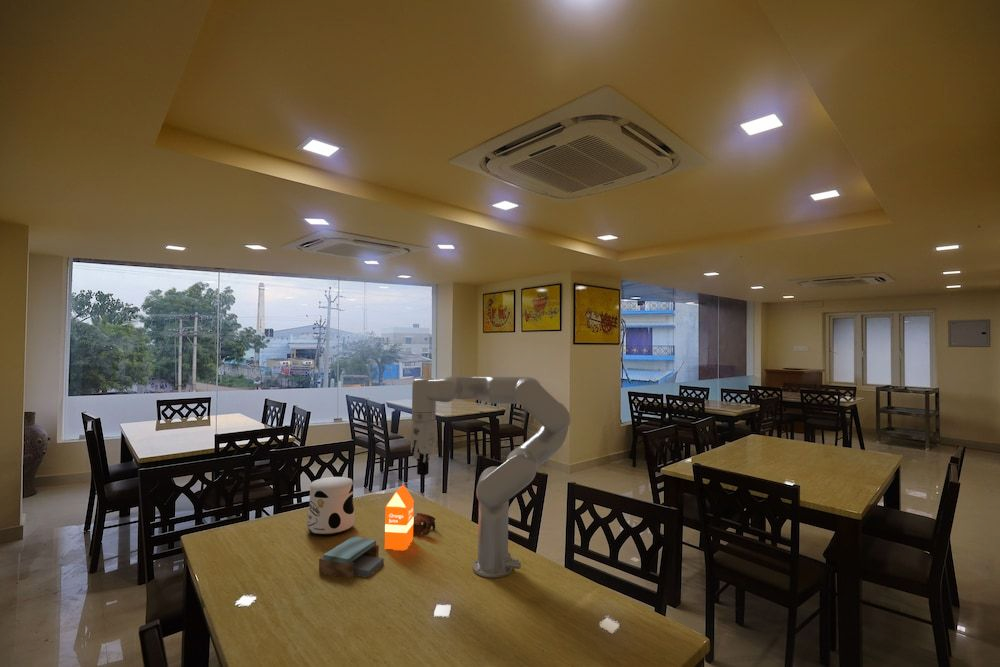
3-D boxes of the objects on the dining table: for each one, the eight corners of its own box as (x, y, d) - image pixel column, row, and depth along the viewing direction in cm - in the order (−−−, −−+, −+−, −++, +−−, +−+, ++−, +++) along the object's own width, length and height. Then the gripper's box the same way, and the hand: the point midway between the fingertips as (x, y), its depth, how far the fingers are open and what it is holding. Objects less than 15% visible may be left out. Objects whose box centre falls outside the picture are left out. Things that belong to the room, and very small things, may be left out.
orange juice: (413, 540, 171) (414, 484, 172) (406, 550, 162) (407, 491, 163) (392, 539, 172) (393, 483, 173) (384, 549, 163) (385, 490, 164)
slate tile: (383, 565, 152) (383, 558, 152) (368, 578, 143) (368, 570, 144) (345, 560, 156) (345, 552, 156) (328, 572, 147) (328, 564, 147)
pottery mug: (403, 533, 178) (410, 511, 182) (424, 540, 182) (431, 518, 186) (417, 535, 169) (424, 512, 173) (439, 543, 173) (446, 519, 177)
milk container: (295, 535, 174) (297, 486, 174) (326, 519, 191) (327, 474, 191) (336, 542, 169) (337, 491, 169) (363, 524, 185) (364, 478, 186)
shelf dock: (378, 557, 157) (378, 540, 157) (350, 578, 142) (351, 559, 142) (348, 552, 160) (349, 535, 160) (318, 572, 146) (319, 553, 146)
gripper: (423, 420, 144) (422, 481, 144) (444, 414, 158) (443, 469, 158) (401, 419, 146) (400, 479, 146) (424, 413, 161) (423, 467, 160)
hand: (422, 474), depth 152 cm, fingers closed
